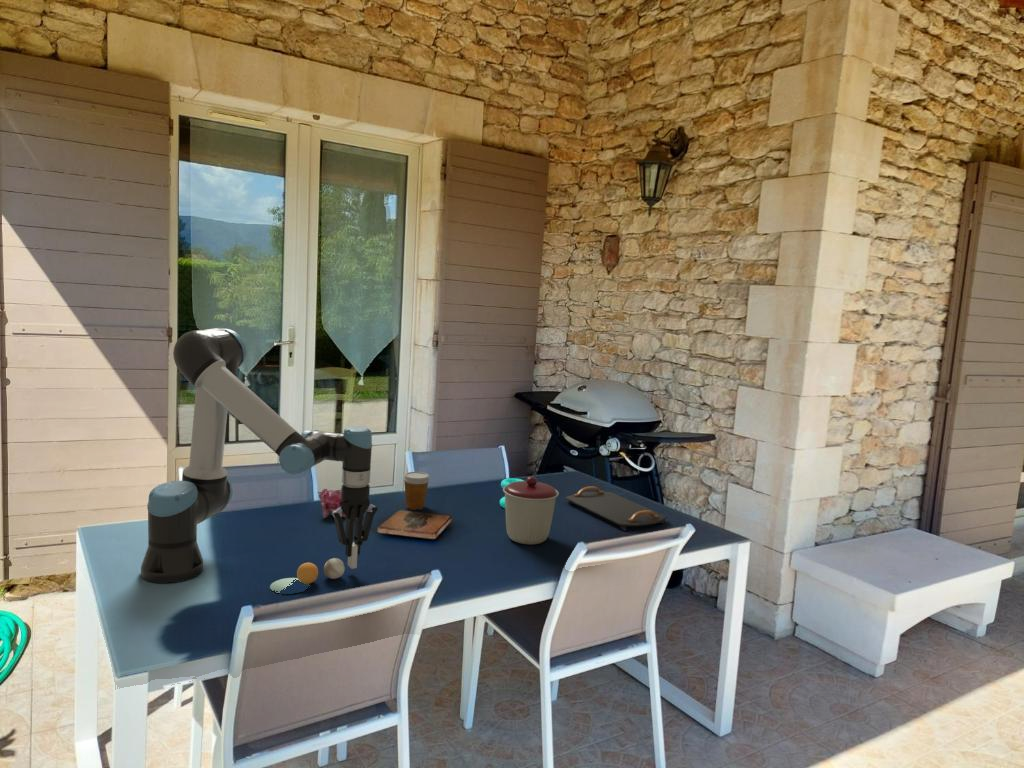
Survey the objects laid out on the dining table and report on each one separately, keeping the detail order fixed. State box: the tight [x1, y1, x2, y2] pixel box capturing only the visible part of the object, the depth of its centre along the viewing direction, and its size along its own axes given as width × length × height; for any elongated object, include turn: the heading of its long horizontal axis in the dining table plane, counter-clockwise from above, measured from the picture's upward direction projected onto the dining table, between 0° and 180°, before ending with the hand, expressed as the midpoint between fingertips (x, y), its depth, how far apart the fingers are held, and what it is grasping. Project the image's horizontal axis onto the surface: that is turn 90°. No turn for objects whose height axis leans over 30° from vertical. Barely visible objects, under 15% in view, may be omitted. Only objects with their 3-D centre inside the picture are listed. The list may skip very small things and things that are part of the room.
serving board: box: [565, 485, 668, 530], centre depth 267 cm, size 39×23×6 cm, turn 33°
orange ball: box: [296, 562, 319, 585], centre depth 189 cm, size 6×6×6 cm
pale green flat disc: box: [269, 577, 311, 594], centre depth 187 cm, size 10×10×1 cm
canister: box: [502, 476, 560, 546], centre depth 232 cm, size 18×18×21 cm
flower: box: [318, 488, 345, 519], centre depth 244 cm, size 11×10×10 cm
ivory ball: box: [323, 557, 346, 580], centre depth 193 cm, size 6×6×6 cm
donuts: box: [499, 477, 525, 510], centre depth 265 cm, size 10×10×10 cm
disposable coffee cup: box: [402, 471, 431, 511], centre depth 257 cm, size 10×10×12 cm
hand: (352, 566), depth 197 cm, fingers closed
